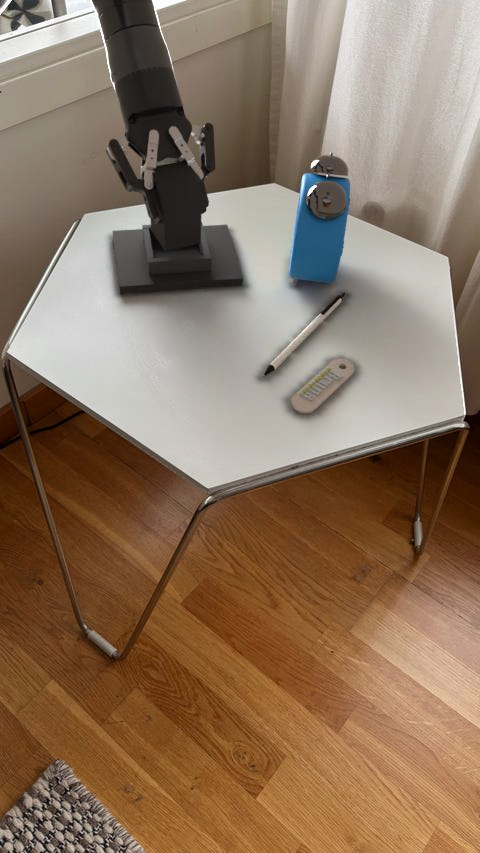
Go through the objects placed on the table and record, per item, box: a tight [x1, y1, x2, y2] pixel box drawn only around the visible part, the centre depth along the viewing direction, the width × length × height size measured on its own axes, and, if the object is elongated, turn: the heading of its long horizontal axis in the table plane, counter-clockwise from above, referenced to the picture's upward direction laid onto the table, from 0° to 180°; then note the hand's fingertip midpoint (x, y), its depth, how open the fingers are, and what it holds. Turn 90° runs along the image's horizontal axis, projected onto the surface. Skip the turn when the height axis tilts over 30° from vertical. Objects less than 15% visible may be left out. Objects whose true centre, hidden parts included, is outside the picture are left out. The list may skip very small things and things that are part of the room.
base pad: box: [112, 221, 244, 295], centre depth 94 cm, size 16×12×3 cm
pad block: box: [150, 161, 202, 251], centre depth 89 cm, size 5×5×9 cm
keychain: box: [290, 357, 355, 414], centre depth 82 cm, size 10×1×3 cm
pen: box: [262, 292, 347, 377], centre depth 88 cm, size 1×19×1 cm, turn 145°
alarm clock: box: [288, 152, 351, 286], centre depth 90 cm, size 13×6×15 cm, turn 173°
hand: (181, 216), depth 88 cm, fingers closed on pad block, 5 cm apart
